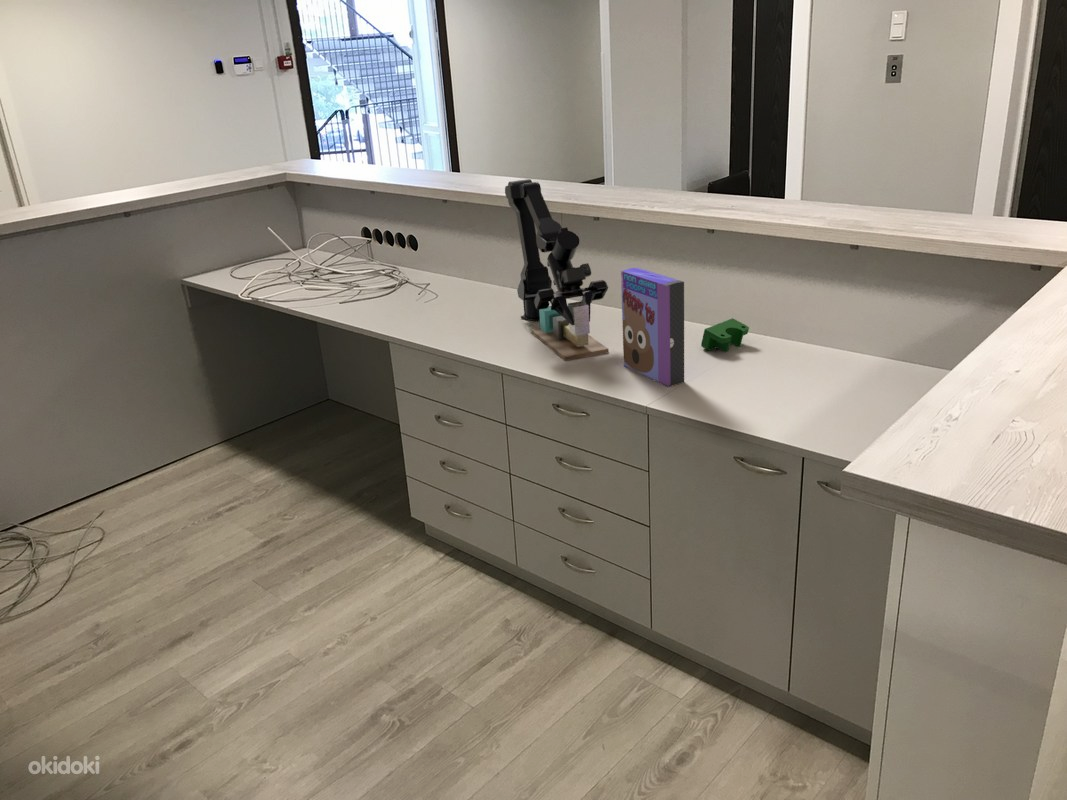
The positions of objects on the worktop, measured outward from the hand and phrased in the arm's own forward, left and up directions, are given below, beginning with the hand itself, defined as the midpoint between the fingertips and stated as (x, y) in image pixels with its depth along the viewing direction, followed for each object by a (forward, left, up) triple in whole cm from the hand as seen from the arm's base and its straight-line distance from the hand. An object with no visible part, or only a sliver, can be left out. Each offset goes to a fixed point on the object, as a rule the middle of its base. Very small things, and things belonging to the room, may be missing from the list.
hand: (581, 323), depth 222 cm
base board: (-9, +5, -8) cm, 13 cm away
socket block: (-17, +9, -7) cm, 21 cm away
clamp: (+28, +23, -8) cm, 37 cm away
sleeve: (-10, +5, -7) cm, 14 cm away
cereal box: (+24, -2, -8) cm, 25 cm away
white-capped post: (-6, +3, -6) cm, 9 cm away
